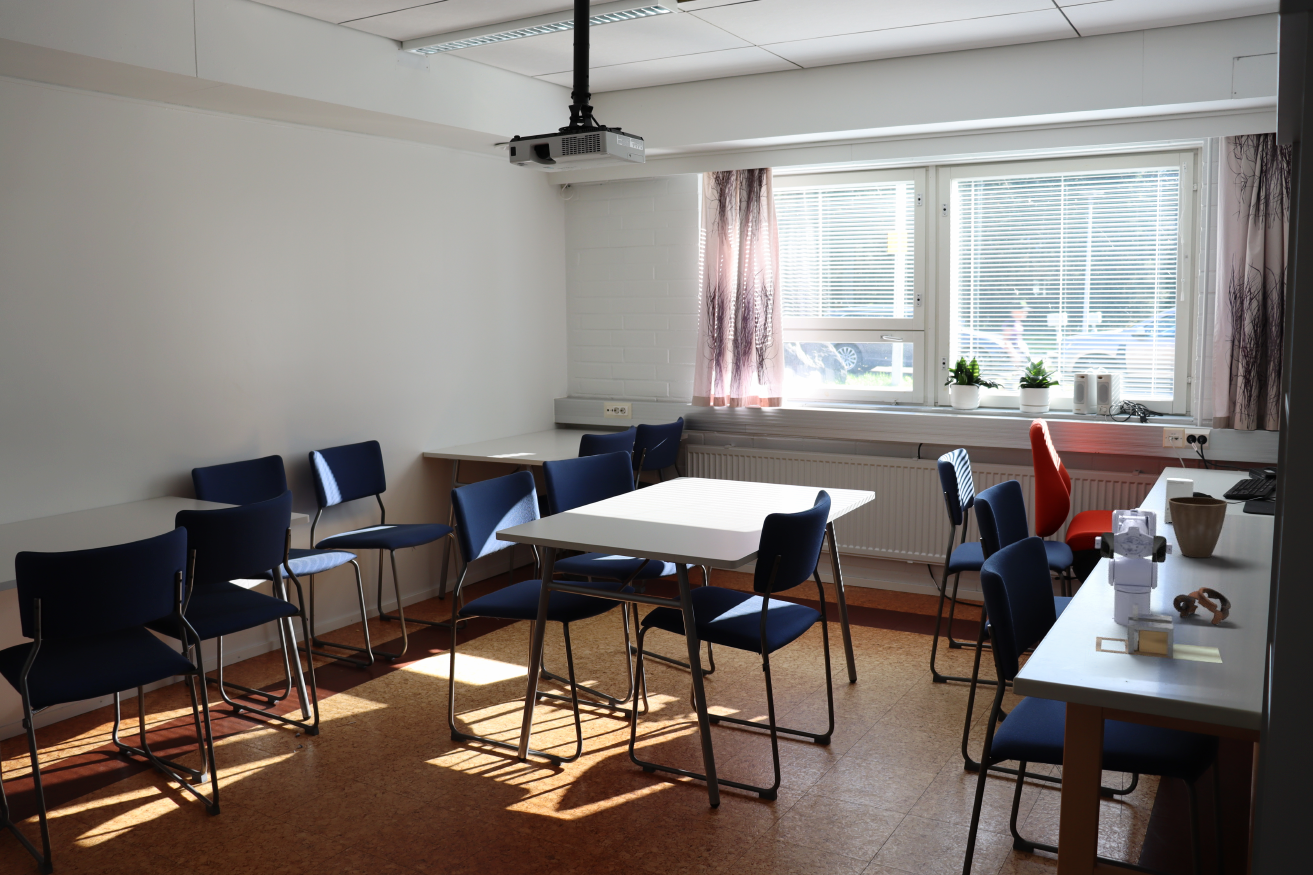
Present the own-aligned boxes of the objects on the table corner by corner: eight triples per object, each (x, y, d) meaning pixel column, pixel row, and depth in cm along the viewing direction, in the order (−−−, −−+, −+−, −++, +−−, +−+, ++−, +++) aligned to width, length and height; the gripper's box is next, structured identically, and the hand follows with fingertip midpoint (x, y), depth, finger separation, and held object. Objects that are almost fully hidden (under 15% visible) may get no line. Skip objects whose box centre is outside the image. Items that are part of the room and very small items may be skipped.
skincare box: (1164, 523, 332) (1165, 479, 331) (1164, 520, 338) (1165, 477, 336) (1192, 524, 328) (1193, 480, 327) (1192, 521, 334) (1193, 478, 332)
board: (1096, 643, 210) (1096, 636, 210) (1217, 654, 201) (1217, 647, 200) (1095, 657, 201) (1095, 650, 201) (1222, 670, 192) (1222, 662, 191)
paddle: (1132, 641, 205) (1133, 600, 204) (1136, 641, 205) (1137, 600, 204) (1133, 649, 200) (1133, 607, 199) (1137, 650, 199) (1138, 608, 199)
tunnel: (1127, 639, 207) (1128, 612, 207) (1170, 643, 204) (1171, 615, 203) (1128, 653, 199) (1128, 624, 198) (1173, 657, 195) (1173, 628, 195)
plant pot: (1158, 550, 294) (1159, 497, 292) (1209, 548, 293) (1210, 495, 292) (1182, 561, 279) (1184, 505, 277) (1236, 560, 278) (1238, 504, 277)
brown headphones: (1201, 613, 231) (1221, 586, 227) (1222, 641, 223) (1243, 614, 219) (1157, 603, 229) (1176, 577, 225) (1177, 632, 221) (1197, 605, 217)
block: (1138, 643, 204) (1138, 623, 204) (1165, 646, 202) (1166, 625, 202) (1139, 651, 200) (1139, 629, 199) (1166, 653, 198) (1167, 632, 197)
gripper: (1097, 518, 215) (1094, 533, 203) (1172, 523, 208) (1174, 539, 196) (1095, 549, 216) (1093, 566, 204) (1170, 555, 209) (1172, 573, 197)
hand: (1132, 555), depth 200 cm, fingers open, 7 cm apart
